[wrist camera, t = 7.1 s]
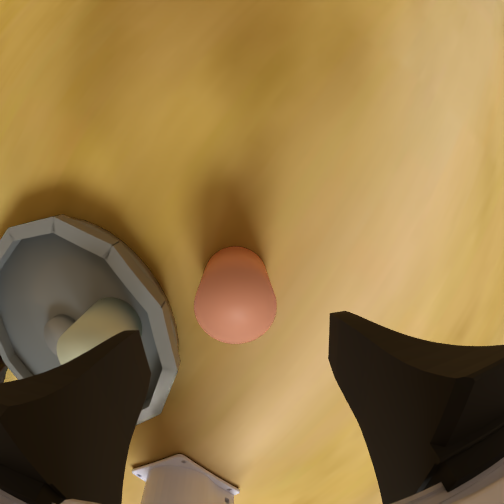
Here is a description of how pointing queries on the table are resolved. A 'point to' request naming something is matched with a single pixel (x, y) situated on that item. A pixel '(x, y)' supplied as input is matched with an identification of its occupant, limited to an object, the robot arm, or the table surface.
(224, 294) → the bead
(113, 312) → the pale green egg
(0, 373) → the yellow black patterned cube
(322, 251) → the table surface
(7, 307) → the groove tray
